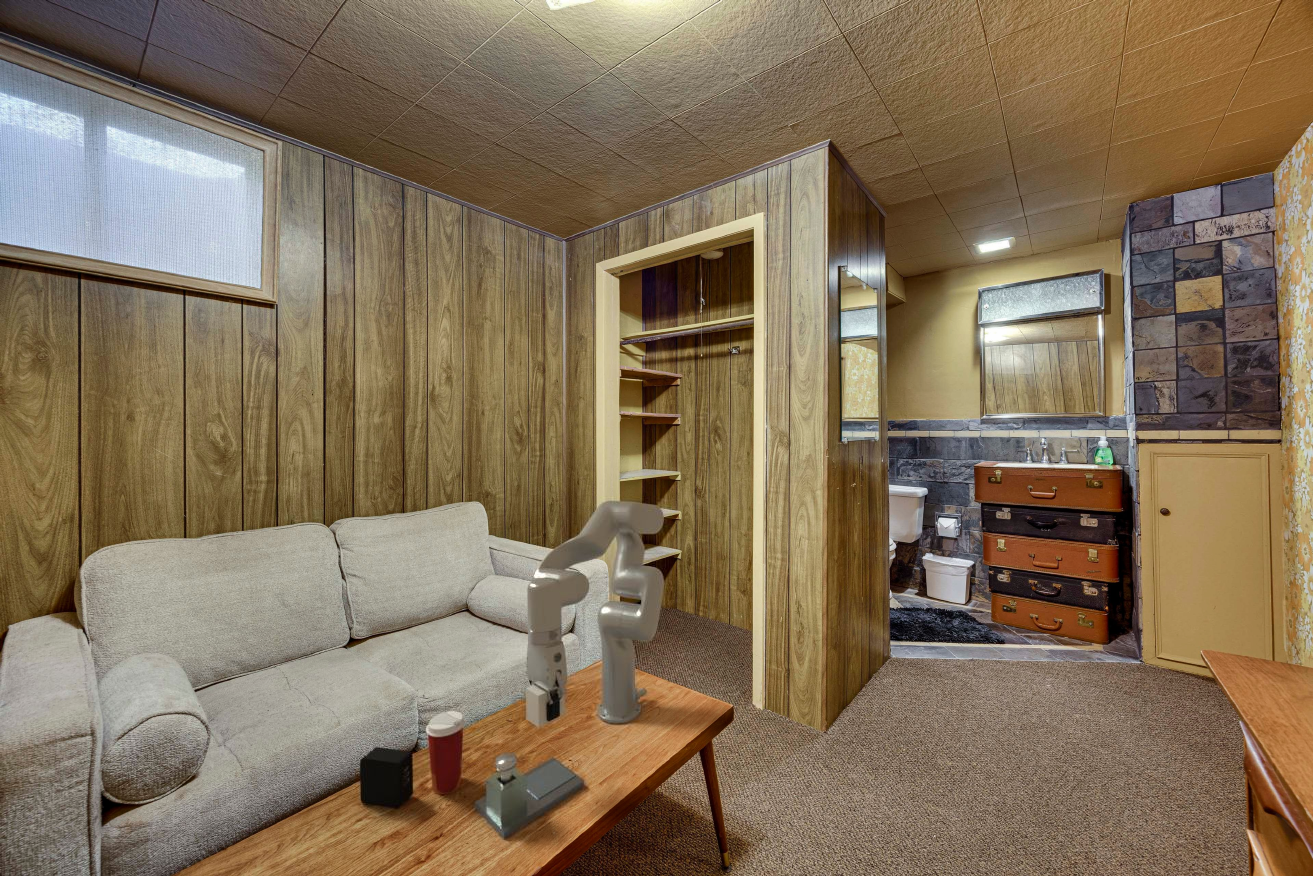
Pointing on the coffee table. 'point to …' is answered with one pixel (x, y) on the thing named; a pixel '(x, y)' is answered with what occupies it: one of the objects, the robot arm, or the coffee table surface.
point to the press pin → (506, 766)
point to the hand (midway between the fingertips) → (546, 713)
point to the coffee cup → (445, 750)
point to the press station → (526, 795)
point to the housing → (539, 705)
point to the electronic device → (386, 777)
